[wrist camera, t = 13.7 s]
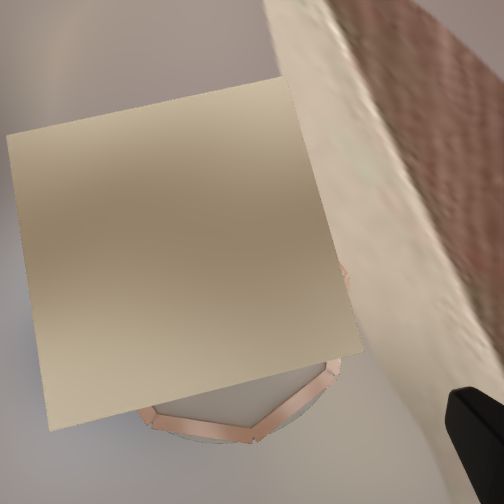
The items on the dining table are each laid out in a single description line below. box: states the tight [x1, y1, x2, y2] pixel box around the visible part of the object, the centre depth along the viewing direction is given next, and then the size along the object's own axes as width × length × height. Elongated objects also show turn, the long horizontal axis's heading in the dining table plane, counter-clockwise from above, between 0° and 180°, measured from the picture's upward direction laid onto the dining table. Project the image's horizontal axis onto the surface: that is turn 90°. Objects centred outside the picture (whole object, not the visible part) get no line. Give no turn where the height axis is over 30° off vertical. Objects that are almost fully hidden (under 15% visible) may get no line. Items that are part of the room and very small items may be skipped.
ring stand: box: [136, 262, 349, 444], centre depth 22 cm, size 12×12×1 cm
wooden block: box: [6, 76, 364, 431], centre depth 15 cm, size 5×5×14 cm
